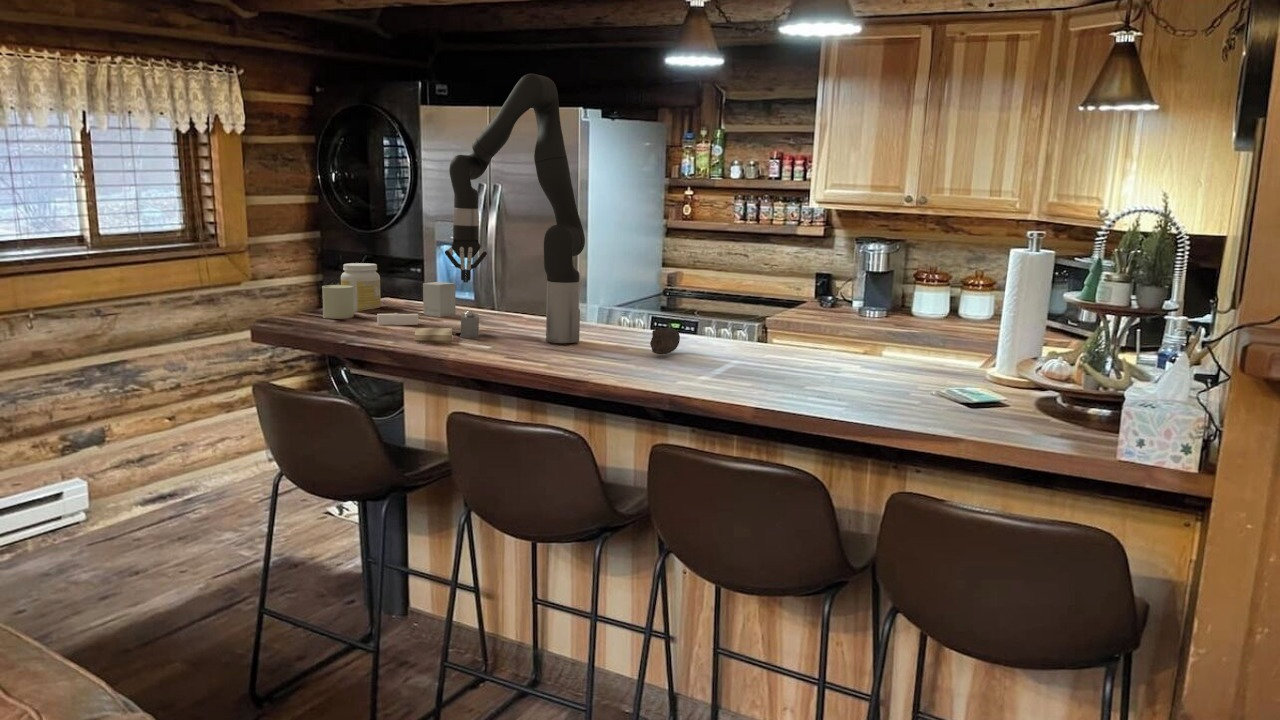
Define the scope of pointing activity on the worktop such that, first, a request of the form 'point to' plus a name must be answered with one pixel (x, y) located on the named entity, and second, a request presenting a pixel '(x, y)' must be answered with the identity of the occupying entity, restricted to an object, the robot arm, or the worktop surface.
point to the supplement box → (439, 299)
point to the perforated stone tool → (664, 340)
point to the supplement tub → (363, 285)
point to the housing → (469, 325)
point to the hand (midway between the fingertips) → (465, 282)
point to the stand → (434, 335)
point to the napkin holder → (397, 319)
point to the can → (337, 301)
